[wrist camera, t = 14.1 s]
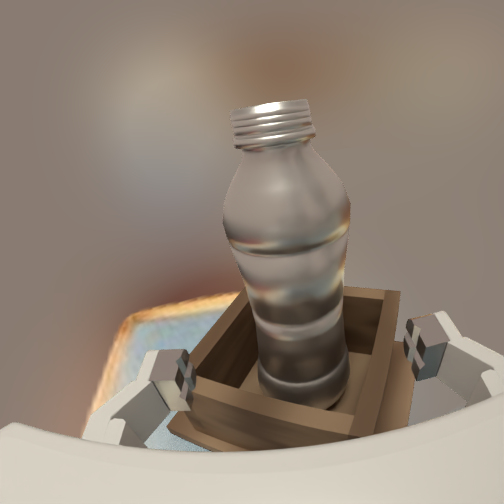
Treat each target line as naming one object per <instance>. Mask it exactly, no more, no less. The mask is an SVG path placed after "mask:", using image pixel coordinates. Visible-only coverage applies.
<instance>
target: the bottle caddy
mask: <svg viewBox="0 0 504 504" xmlns="http://www.w3.org/2000/svg"><path fill="white" fill-rule="evenodd" d="M399 301H400V291H391V290H380V289H369V288H359V287H348V286H344V290H343V309H342V311H343V322H344V332H345V342H346V345H347V349H348V353H349V361H350V376H349V379H348V382H347V385H346V388H345V390H344V392H343V394H342V395H341V397H340V398H339V399H338V400H337V401H336V402H335V403H334V404H333V405H331V406H330V407H328V408H327V409H325V410H322V409H317V408H312V407H308V406H303V405H299V404H295V403H290V402H286V401H282V400H278V399H274V398H270V397H266V396H264V394H263V392H262V390H261V388H260V386H259V383H258V369H257V363H258V355H259V352H258V342H257V332H256V323H255V319H254V316H253V312H252V307H251V305H250V301H249V298H248V294H247V290H246V287H245V288H244V289H243V290H242V291H241V292H240V294H239V295H238V296H237V297H236V299H235V300H234V301H233V302H232V303H231V305H230V306H229V307H228V308H227V310H226V311H225V312H224V313H223V314H222V316H221V317H220V318H219V319H218V320H217V322H216V323H215V324H214V325H213V327H212V328H211V329H210V330H209V331H208V333H207V334H206V335H205V336H204V337H203V339H202V340H201V341H200V342H199V344H198V345H197V346H196V347H195V348H194V350H193V351H192V352H191V353H190V354H189V356H190V357H189V362H190V363H192V364H193V365H194V368H195V371H196V381H197V382H196V388H195V389H194V390H193V391H192V392H191V393H192V395H193V397H194V398H193V403H192V408H191V411H178V412H177V413H176V415H175V416H174V417H173V419H172V420H171V421H170V422H169V424H168V425H167V426H166V427H167V428H168V430H169V431H170V432H171V433H172V434H174V435H176V436H179V437H181V438H183V439H185V440H187V441H189V442H192V443H194V444H196V445H198V446H201V447H203V448H205V449H208V450H210V451H212V452H238V451H261V450H275V449H287V448H296V447H305V446H313V445H320V444H327V443H334V442H340V441H345V440H351V439H356V438H361V437H366V436H371V435H375V434H379V433H384V432H388V431H392V430H396V429H400V428H403V427H407V425H408V419H409V414H410V408H411V402H412V396H413V388H414V381H415V377H414V374H413V372H412V370H411V366H412V363H411V362H410V361H408V360H407V358H406V356H405V353H404V346H403V342H398V341H394V338H395V331H396V325H397V317H398V309H399Z"/></svg>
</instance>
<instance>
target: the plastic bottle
mask: <svg viewBox="0 0 504 504" xmlns="http://www.w3.org/2000/svg"><path fill="white" fill-rule="evenodd" d="M230 114H231V115H230V118H231V123H232V127H233V132H234V138H233V143H234V148H236V149H242V161H241V163H240V165H239V167H238V169H237V171H236V173H235V175H234V178H233V180H232V182H231V184H230V187H229V190H228V193H227V195H226V198H225V201H224V210H223V226H224V229H225V233H226V237H227V239H228V241H229V245H230V247H231V249H232V252H233V255H234V258H235V260H236V263H237V265H238V268H239V270H240V273H241V275H242V278H243V281H244V283H245V287H246V290H247V294H248V298H249V301H250V305H251V307H252V312H253V316H254V319H255V323H256V332H257V342H258V352H259V355H258V363H257V369H258V383H259V386H260V388H261V390H262V392H263V394H264V396H266V397H270V398H274V399H278V400H282V401H286V402H290V403H295V404H299V405H303V406H308V407H312V408H317V409H322V410H325V409H327V408H328V407H330V406H331V405H333V404H334V403H335V402H336V401H337V400H338V399H339V398H340V397H341V395H342V394H343V392H344V390H345V388H346V385H347V382H348V379H349V376H350V361H349V353H348V349H347V345H346V342H345V332H344V322H343V311H342V309H343V290H344V268H345V260H346V251H347V243H348V235H349V225H350V208H351V207H350V206H351V203H350V201H349V198H348V195H347V192H346V190H345V187H344V185H343V183H342V182H341V180H340V179H339V178H338V176H337V175H336V174H335V172H334V171H333V170H332V169H331V168H330V166H329V165H328V164H327V163H326V162H325V161H324V160H323V159H322V158H321V157H320V156H319V155H318V154H317V153H316V152H315V151H314V150H313V148H312V146H311V142H310V139H311V138H314V137H315V136H316V132H315V127H314V126H312V121H311V114H310V109H309V104H308V103H307V99H304V100H293V101H284V102H277V103H270V104H263V105H257V106H251V107H246V108H240V109H235V110H231V111H230Z"/></svg>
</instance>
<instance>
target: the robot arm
mask: <svg viewBox="0 0 504 504" xmlns="http://www.w3.org/2000/svg"><path fill="white" fill-rule="evenodd" d="M406 329H407V331H408V333H407V334H406V335H405V336H404V342H403V346H404V353H405V356H406V358H407V360H408V361H410V362H411V363H412V366H411V370H412V372H413V374H414V377H415V379H416V381H420V380H424V379H428V378H432V377H436V376H437V378H438V379H439V380H440V381H442V382H443V383H444V384H446V385H447V386H448V387H449V388H451V389H452V390H453V391H454V392H456V393H457V394H458V395H460V396H461V397H462V398H463V399H465V400H466V401H467V404H466V406H465V408H463V409H460V410H458V411H455V412H452V413H449V414H446V415H443V416H440V417H437V418H434V419H431V420H428V421H424V422H421V423H418V424H414V425H411V426H407V427H403V428H400V429H396V430H392V431H388V432H384V433H379V434H375V435H371V436H366V437H361V438H356V439H351V440H345V441H340V442H334V443H327V444H320V445H313V446H305V447H296V448H287V449H275V450H261V451H238V452H196V451H174V450H160V449H148V448H147V446H146V445H145V444H144V442H145V441H146V440H147V439H148V438H149V436H150V435H151V434H152V433H153V432H154V431H155V429H156V428H157V427H158V426H159V425H160V424H161V422H162V421H163V420H164V419H165V418H166V417H167V415H168V414H169V413H170V411H191V408H192V403H193V398H194V397H193V395H192V393H191V392H192V391H193V390H194V389H195V388H196V382H197V381H196V371H195V368H194V365H193V364H192V363H190V362H189V357H190V356H189V354H188V352H187V350H185V349H174V350H149V351H147V352H146V354H145V357H144V359H143V362H142V365H141V367H140V370H139V373H138V375H137V378H136V381H132V382H130V383H129V384H128V385H127V386H126V387H124V388H123V389H122V390H121V391H119V392H118V393H117V394H116V395H115V396H113V397H112V398H111V399H110V400H108V401H107V402H106V403H105V404H104V405H102V406H101V407H100V408H99V409H97V410H96V411H95V412H94V413H93V414H91V416H90V419H89V421H88V424H87V426H86V429H85V431H84V434H83V436H82V439H81V438H76V437H71V436H67V435H62V434H58V433H54V432H50V431H46V430H42V429H38V428H35V427H31V426H28V425H25V424H22V423H17V422H14V423H11V424H9V425H7V426H5V427H4V428H2V429H1V430H0V504H504V356H502V355H500V354H498V353H497V352H495V351H493V350H491V349H489V348H487V347H485V346H483V345H481V344H479V343H477V342H475V341H473V340H471V339H469V338H467V337H464V338H463V337H462V336H461V334H460V333H459V331H458V330H457V328H456V327H455V325H454V324H453V322H452V321H451V319H450V318H449V316H448V315H447V313H446V312H444V311H440V312H436V313H432V314H428V315H424V316H420V317H415V318H411V319H408V321H407V324H406Z"/></svg>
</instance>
